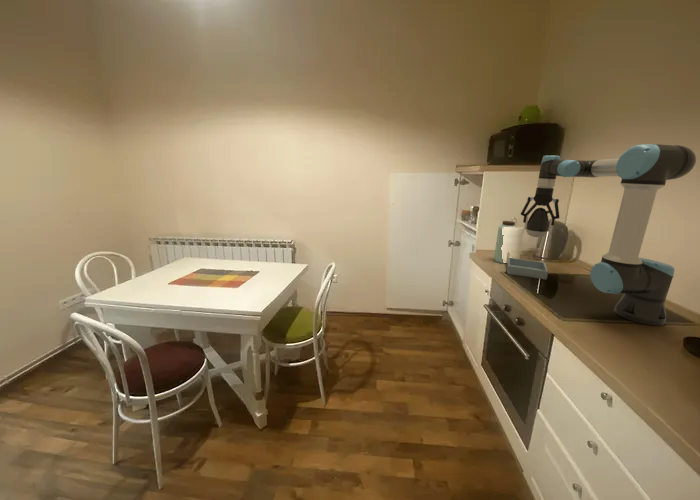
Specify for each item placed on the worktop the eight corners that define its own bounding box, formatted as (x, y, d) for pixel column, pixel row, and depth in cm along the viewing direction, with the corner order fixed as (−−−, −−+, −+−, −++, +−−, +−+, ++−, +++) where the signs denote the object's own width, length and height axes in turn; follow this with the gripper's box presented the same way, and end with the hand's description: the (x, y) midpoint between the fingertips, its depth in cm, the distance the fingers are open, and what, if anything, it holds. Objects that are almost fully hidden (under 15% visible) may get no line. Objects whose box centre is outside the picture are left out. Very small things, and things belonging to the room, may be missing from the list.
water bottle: (493, 262, 191) (499, 222, 184) (494, 258, 199) (500, 219, 193) (511, 265, 186) (518, 223, 180) (511, 260, 195) (518, 221, 188)
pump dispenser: (545, 239, 158) (552, 209, 154) (523, 236, 164) (528, 207, 160) (548, 236, 166) (554, 207, 162) (526, 233, 172) (531, 205, 168)
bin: (546, 279, 163) (548, 271, 162) (507, 273, 171) (508, 265, 170) (543, 269, 179) (544, 262, 178) (507, 264, 187) (508, 257, 186)
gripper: (570, 188, 157) (560, 231, 163) (519, 185, 166) (512, 226, 172) (573, 189, 150) (563, 234, 157) (520, 186, 160) (512, 228, 166)
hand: (536, 230), depth 164 cm, fingers closed on pump dispenser, 10 cm apart
